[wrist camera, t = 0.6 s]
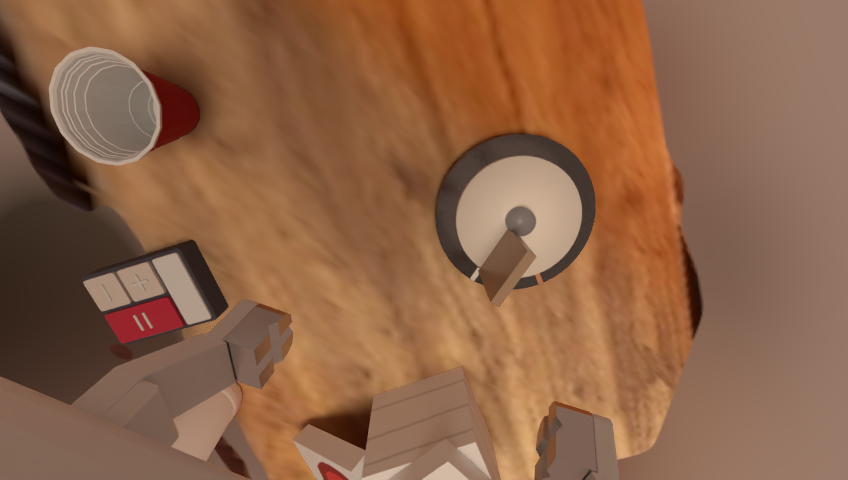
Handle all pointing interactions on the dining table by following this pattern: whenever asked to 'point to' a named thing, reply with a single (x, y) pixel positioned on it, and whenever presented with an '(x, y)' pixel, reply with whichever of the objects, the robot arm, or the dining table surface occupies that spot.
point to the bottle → (207, 422)
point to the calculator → (157, 293)
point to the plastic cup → (117, 107)
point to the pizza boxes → (411, 437)
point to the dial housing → (494, 151)
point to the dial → (517, 220)
